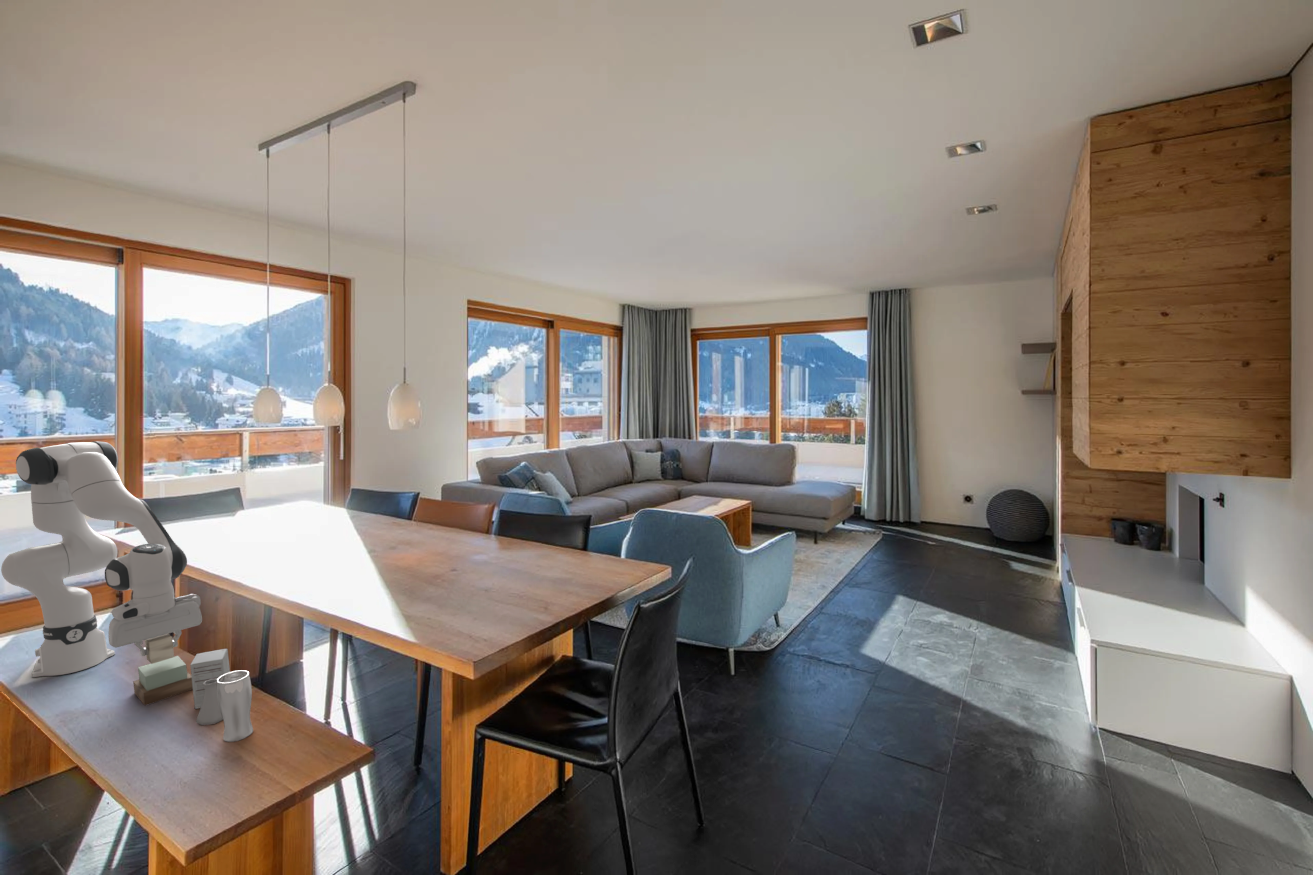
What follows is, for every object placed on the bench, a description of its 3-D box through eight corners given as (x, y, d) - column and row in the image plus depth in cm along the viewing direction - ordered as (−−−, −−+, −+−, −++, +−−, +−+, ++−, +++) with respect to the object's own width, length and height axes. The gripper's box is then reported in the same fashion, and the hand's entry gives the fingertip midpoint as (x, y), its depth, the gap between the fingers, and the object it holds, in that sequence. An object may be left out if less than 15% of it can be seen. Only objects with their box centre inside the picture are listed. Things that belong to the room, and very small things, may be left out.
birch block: (146, 659, 171) (144, 638, 170) (169, 652, 175) (166, 632, 174) (151, 663, 168) (149, 642, 167) (174, 657, 172) (172, 636, 171)
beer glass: (247, 741, 147) (241, 682, 146) (215, 744, 146) (209, 684, 145) (260, 725, 154) (255, 668, 153) (230, 728, 153) (224, 671, 152)
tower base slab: (134, 694, 172) (133, 681, 171) (182, 679, 180) (181, 666, 180) (145, 707, 165) (143, 693, 165) (194, 690, 174) (192, 676, 173)
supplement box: (200, 696, 169) (196, 653, 168) (232, 690, 172) (228, 647, 171) (193, 709, 162) (189, 664, 161) (227, 703, 165) (223, 658, 164)
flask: (213, 727, 154) (209, 689, 153) (189, 724, 155) (185, 687, 154) (238, 711, 161) (234, 675, 160) (215, 709, 162) (211, 673, 161)
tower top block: (139, 680, 172) (137, 667, 171) (179, 668, 178) (177, 655, 178) (146, 690, 166) (145, 676, 165) (187, 678, 173) (186, 664, 172)
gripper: (196, 589, 180) (200, 635, 181) (104, 611, 164) (109, 661, 165) (203, 594, 176) (207, 640, 177) (109, 616, 160) (115, 667, 161)
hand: (159, 650), depth 171 cm, fingers closed on birch block, 5 cm apart
